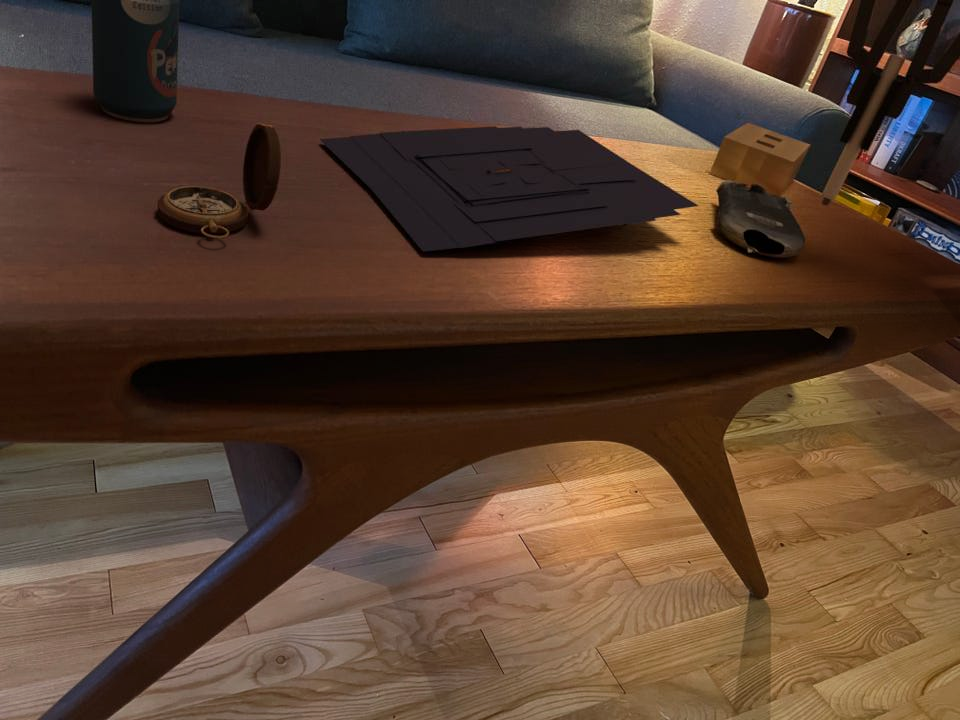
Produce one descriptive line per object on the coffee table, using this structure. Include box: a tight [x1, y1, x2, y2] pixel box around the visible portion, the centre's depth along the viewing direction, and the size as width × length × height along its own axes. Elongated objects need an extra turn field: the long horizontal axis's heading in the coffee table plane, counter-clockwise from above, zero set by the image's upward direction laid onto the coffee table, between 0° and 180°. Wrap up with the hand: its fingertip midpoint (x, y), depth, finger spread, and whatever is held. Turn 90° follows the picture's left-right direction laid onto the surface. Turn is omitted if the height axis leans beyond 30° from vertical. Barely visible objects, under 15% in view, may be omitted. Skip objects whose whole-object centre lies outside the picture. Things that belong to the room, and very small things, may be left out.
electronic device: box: [715, 180, 806, 259], centre depth 84 cm, size 9×6×15 cm
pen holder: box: [709, 122, 811, 197], centre depth 106 cm, size 9×15×5 cm, turn 151°
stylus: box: [821, 54, 906, 207], centre depth 76 cm, size 1×1×15 cm
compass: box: [155, 122, 282, 239], centre depth 55 cm, size 8×8×7 cm
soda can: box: [90, 0, 180, 123], centre depth 69 cm, size 7×7×12 cm
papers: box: [318, 126, 699, 253], centre depth 75 cm, size 24×30×4 cm
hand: (854, 143), depth 77 cm, fingers closed on stylus
